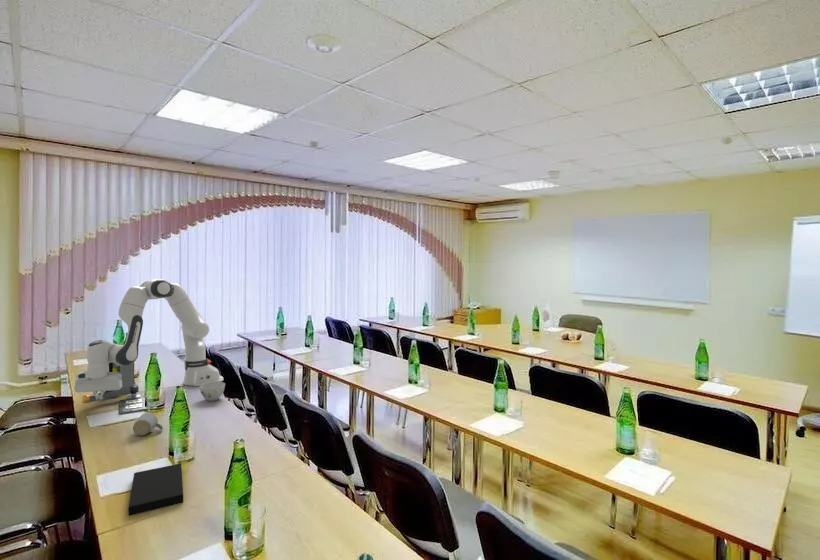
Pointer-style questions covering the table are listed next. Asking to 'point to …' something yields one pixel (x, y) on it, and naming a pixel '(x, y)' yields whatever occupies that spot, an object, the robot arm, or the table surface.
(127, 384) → the electrical component
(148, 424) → the ceramic mug
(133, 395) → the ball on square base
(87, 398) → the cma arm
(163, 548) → the table surface
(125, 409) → the plate
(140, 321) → the robot arm
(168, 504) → the external hard drive
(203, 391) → the teacup
